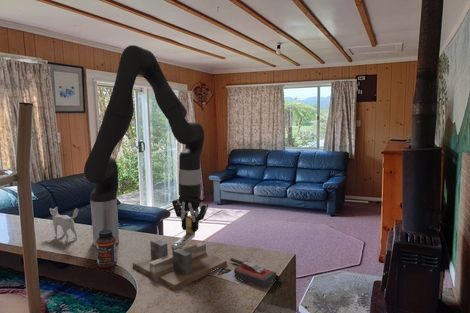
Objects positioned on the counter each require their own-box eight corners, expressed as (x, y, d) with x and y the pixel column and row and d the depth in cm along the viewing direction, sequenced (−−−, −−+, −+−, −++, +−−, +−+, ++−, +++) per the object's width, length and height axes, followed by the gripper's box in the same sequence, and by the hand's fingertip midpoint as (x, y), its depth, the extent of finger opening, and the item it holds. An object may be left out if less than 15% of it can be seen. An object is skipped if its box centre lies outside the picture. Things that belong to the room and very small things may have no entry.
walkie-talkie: (284, 279, 103) (232, 261, 115) (284, 265, 102) (232, 249, 114) (268, 291, 96) (214, 271, 108) (268, 276, 95) (214, 258, 108)
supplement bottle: (96, 269, 110) (94, 235, 108) (98, 261, 115) (96, 229, 114) (116, 267, 111) (114, 233, 110) (117, 259, 117) (115, 227, 115)
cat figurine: (59, 232, 144) (56, 199, 143) (85, 242, 133) (83, 206, 131) (48, 235, 141) (45, 201, 139) (74, 245, 129) (71, 209, 127)
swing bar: (178, 250, 108) (178, 228, 107) (169, 249, 109) (168, 227, 108) (196, 235, 120) (196, 216, 119) (188, 234, 121) (187, 215, 120)
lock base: (132, 266, 111) (131, 244, 110) (183, 247, 127) (182, 227, 126) (175, 290, 97) (174, 264, 95) (226, 264, 112) (226, 242, 111)
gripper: (213, 181, 117) (213, 230, 119) (179, 177, 123) (179, 223, 125) (201, 186, 110) (201, 237, 113) (166, 181, 116) (166, 230, 119)
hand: (189, 230), depth 119 cm, fingers closed on swing bar, 3 cm apart
